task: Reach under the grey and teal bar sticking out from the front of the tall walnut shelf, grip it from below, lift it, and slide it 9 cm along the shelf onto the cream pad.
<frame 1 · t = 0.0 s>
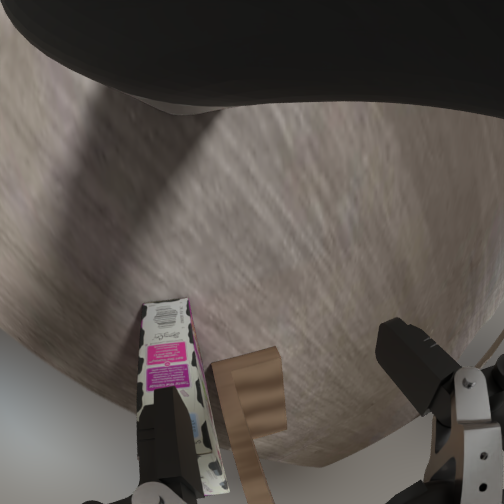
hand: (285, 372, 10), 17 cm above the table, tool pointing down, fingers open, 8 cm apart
bracket shelf: (253, 398, 38), on the table
candy bar box: (174, 338, 30), on the table
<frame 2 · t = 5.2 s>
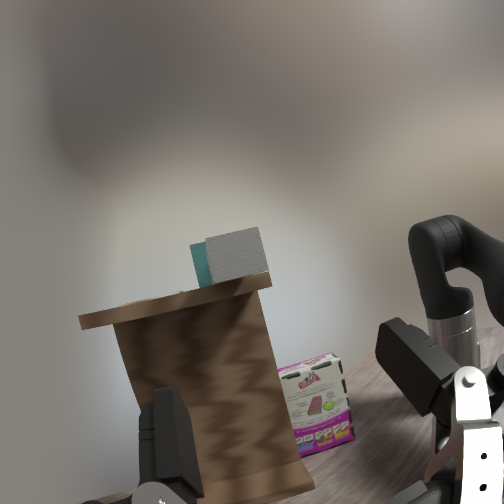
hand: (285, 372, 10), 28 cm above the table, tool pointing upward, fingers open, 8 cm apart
grey and teal bar: (224, 282, 36), point 32 cm above the table, touching bracket shelf
bracket shelf: (243, 492, 32), on the table
candy bar box: (321, 445, 41), on the table
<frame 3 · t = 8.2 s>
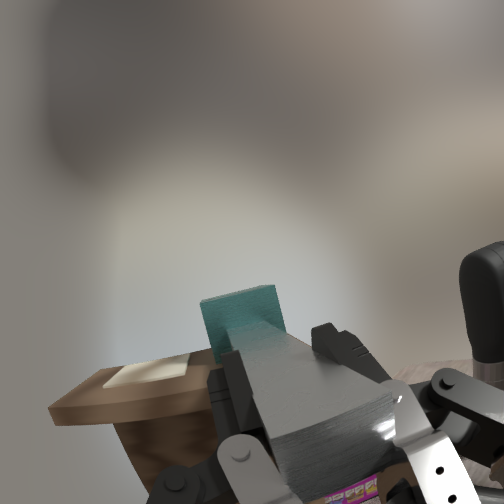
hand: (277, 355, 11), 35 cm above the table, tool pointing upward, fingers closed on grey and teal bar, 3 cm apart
grey and teal bar: (248, 347, 25), point 32 cm above the table, touching bracket shelf, gripper
candy bar box: (349, 498, 30), on the table
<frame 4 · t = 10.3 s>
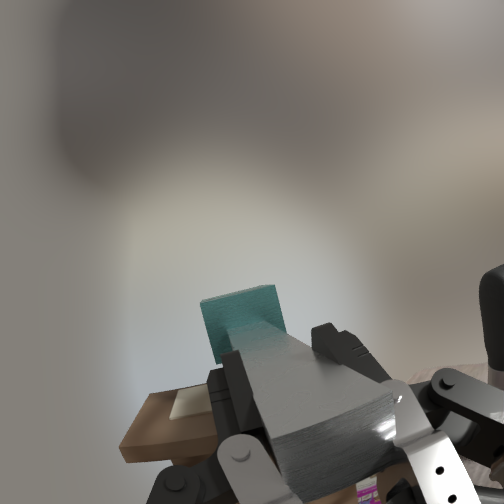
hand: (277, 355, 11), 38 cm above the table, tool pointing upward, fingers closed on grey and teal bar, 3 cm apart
grey and teal bar: (248, 347, 25), point 36 cm above the table, touching gripper
candy bar box: (375, 498, 31), on the table
when the fingers open (36 cm above the table, at t = 12.3 s): grey and teal bar stays where it is, resting on bracket shelf.
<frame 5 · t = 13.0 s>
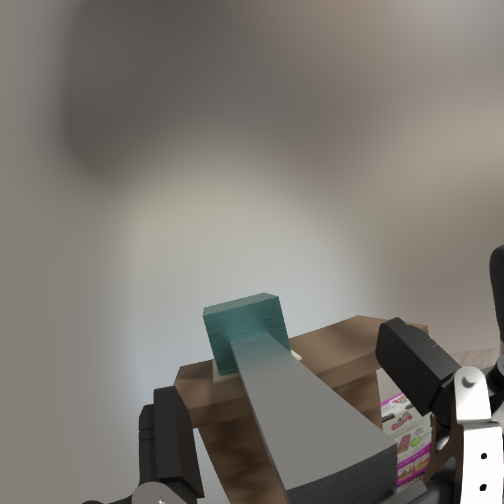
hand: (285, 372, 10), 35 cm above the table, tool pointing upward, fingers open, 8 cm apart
grey and teal bar: (251, 356, 25), point 32 cm above the table, touching bracket shelf
candy bar box: (397, 478, 32), on the table
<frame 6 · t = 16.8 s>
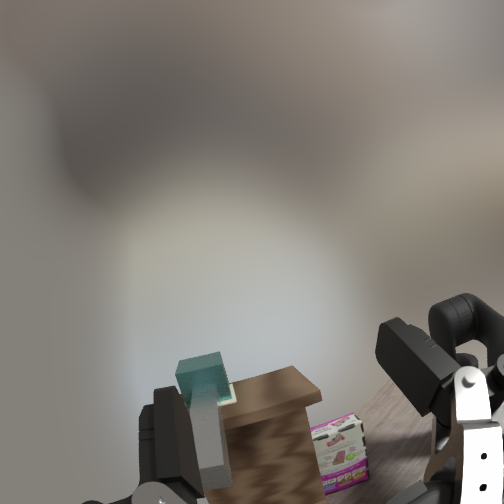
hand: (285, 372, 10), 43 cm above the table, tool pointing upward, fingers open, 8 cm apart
grey and teal bar: (209, 394, 36), point 32 cm above the table, touching bracket shelf
candy bar box: (341, 483, 43), on the table
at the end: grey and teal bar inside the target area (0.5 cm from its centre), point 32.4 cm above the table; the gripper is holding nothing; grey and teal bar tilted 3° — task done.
